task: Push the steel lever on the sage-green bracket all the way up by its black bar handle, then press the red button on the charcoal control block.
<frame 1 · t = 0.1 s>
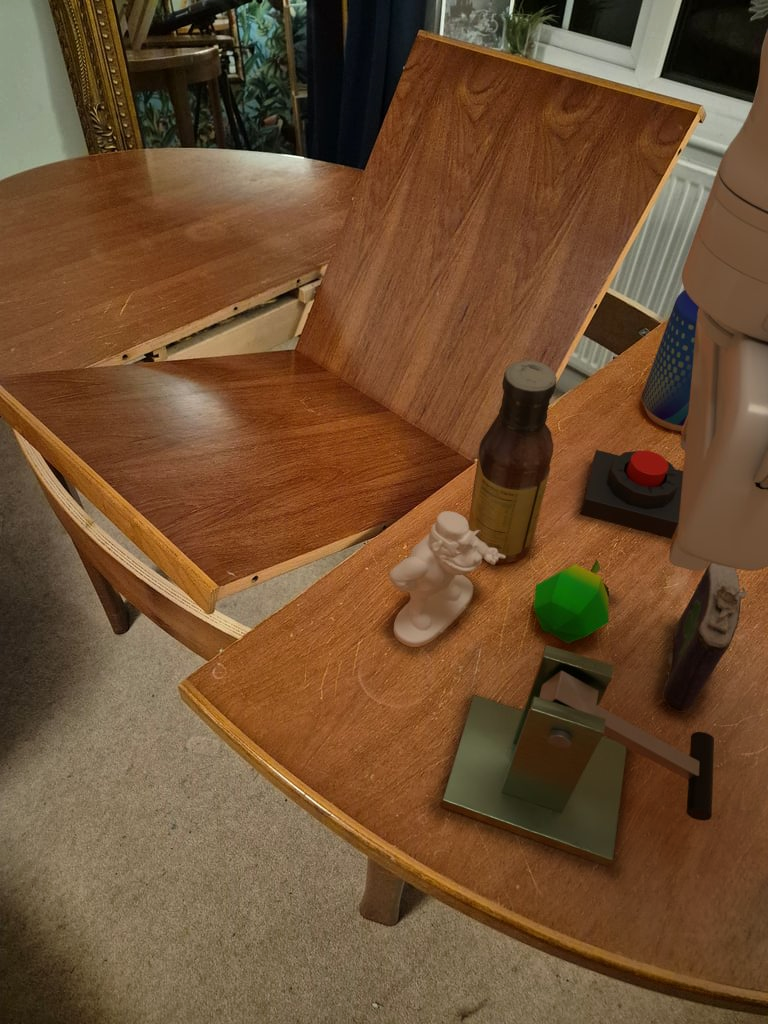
hand: (690, 497, 41), 25 cm above the table, tool pointing down, fingers open, 8 cm apart
beer can: (674, 414, 87), on the table
lever: (629, 735, 47), point 9 cm above the table, hinge at -20.0°
bracket: (534, 778, 55), on the table
control block: (634, 501, 76), on the table
sauce bottle: (496, 545, 72), on the table
button: (647, 468, 73), point 4 cm above the table, slide at 0.1 cm
apple: (568, 616, 66), on the table
figurine: (437, 614, 65), on the table
eggplant half: (682, 668, 63), on the table
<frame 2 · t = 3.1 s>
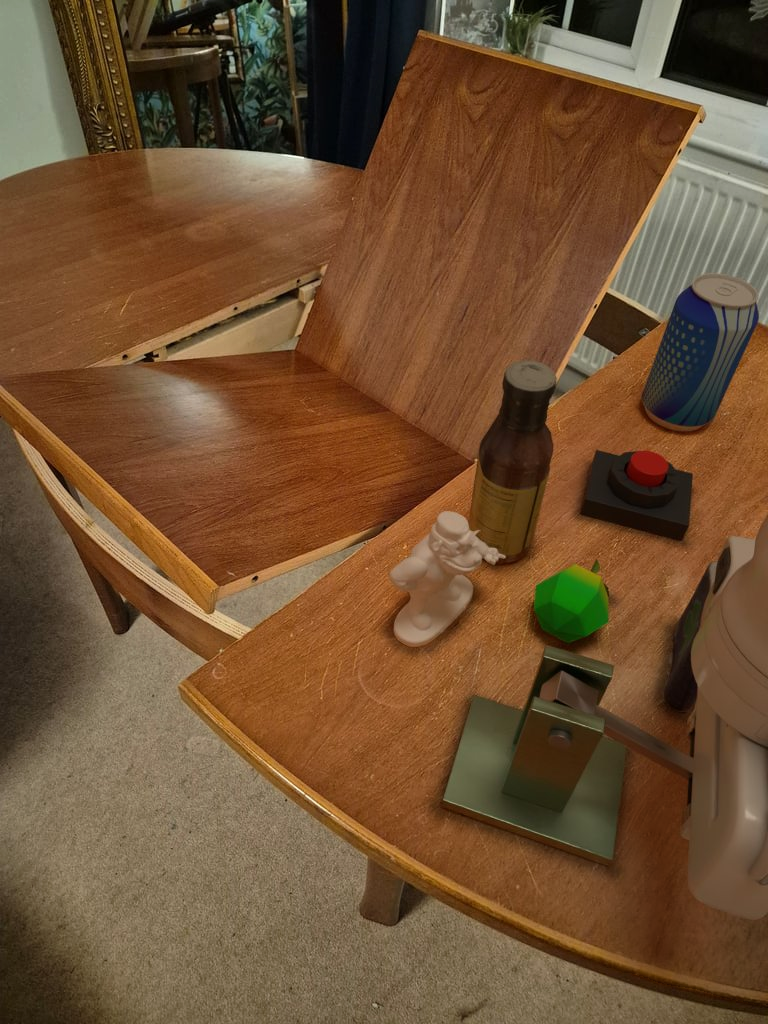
hand: (696, 780, 48), 7 cm above the table, tool pointing down, fingers closed on lever, 5 cm apart
lever: (629, 735, 47), point 9 cm above the table, hinge at -20.0°, touching gripper
everything else where it was.
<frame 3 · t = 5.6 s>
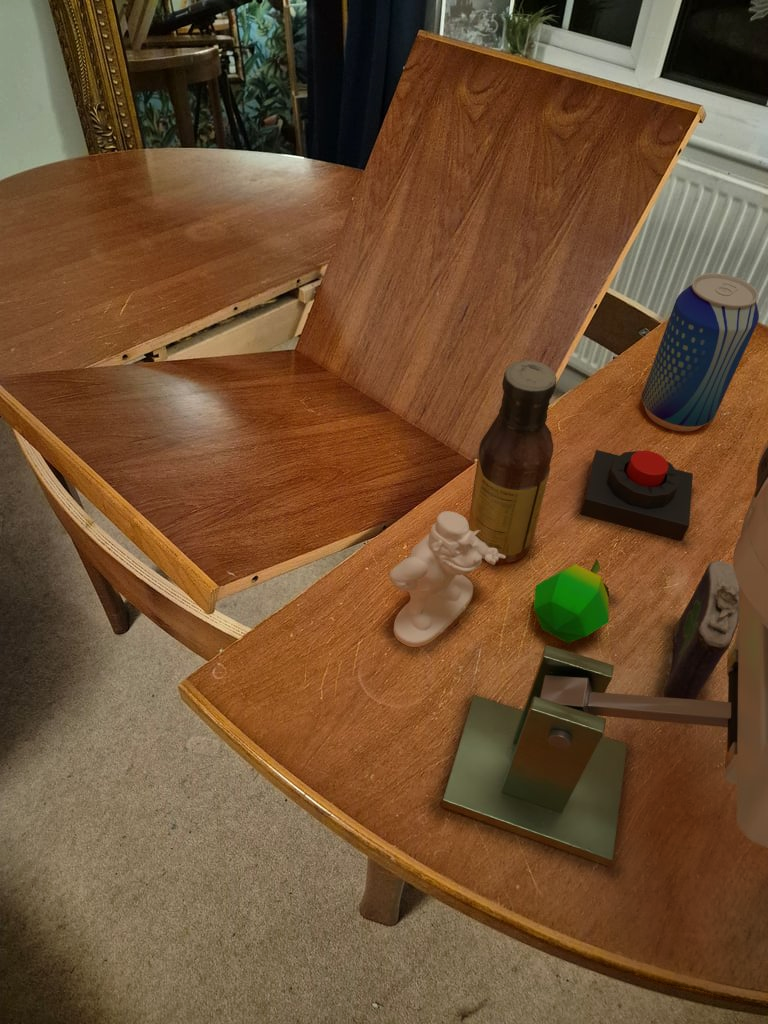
hand: (739, 719, 43), 15 cm above the table, tool pointing down, fingers closed on lever, 5 cm apart
lever: (644, 707, 45), point 13 cm above the table, hinge at 23.5°, touching gripper
everything else where it was.
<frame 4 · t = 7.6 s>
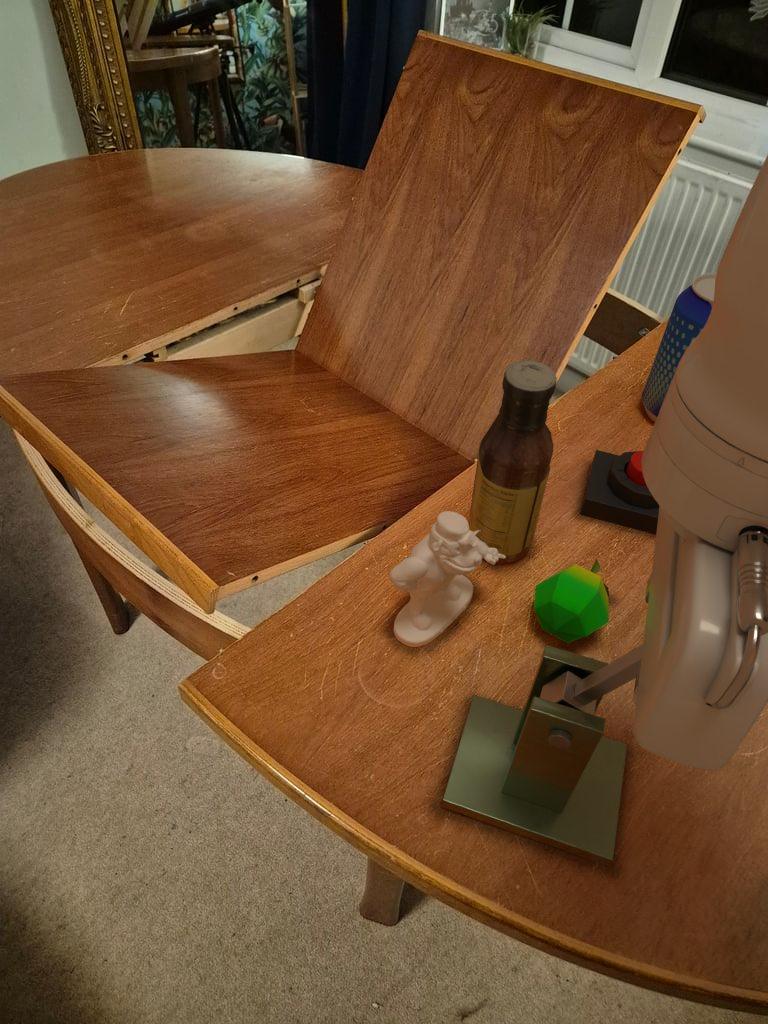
hand: (654, 644, 41), 19 cm above the table, tool pointing down, fingers closed on lever, 5 cm apart
lever: (615, 674, 44), point 15 cm above the table, hinge at 65.6°, touching gripper
everything else where it was.
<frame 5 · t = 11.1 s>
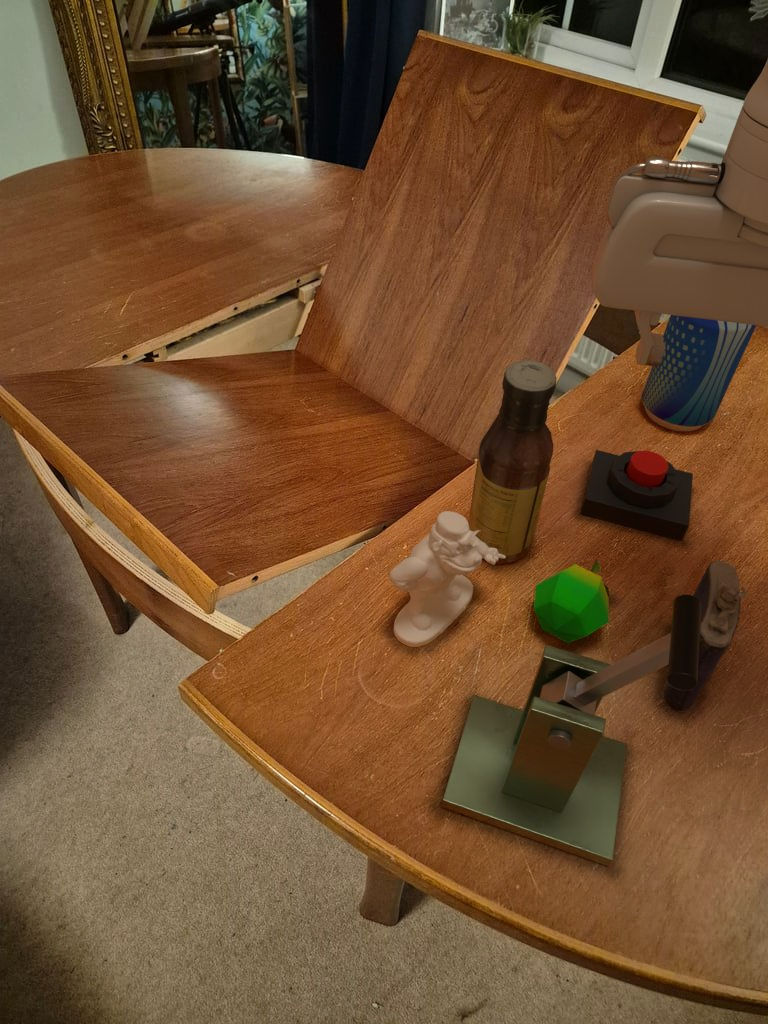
hand: (712, 369, 53), 23 cm above the table, tool pointing down, fingers open, 8 cm apart
lever: (617, 675, 44), point 15 cm above the table, hinge at 64.0°
everything else where it was.
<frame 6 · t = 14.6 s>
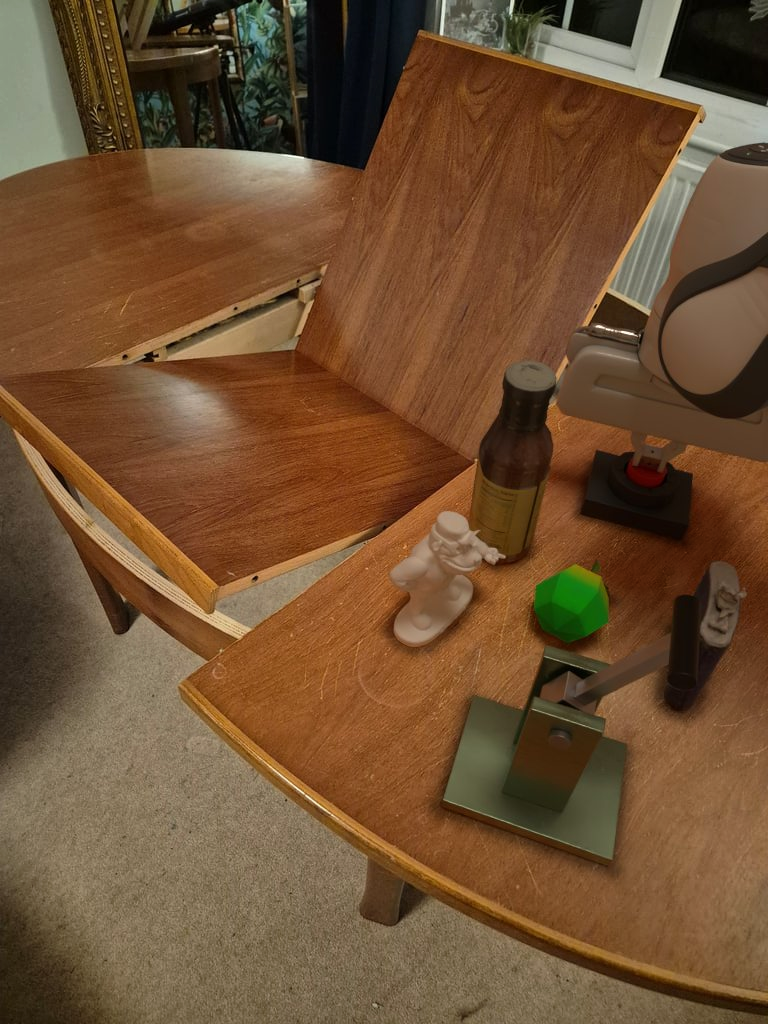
hand: (647, 465, 73), 5 cm above the table, tool pointing down, fingers closed, pressing on button
button: (645, 472, 74), point 4 cm above the table, slide at -0.4 cm, touching gripper
everything else where it was.
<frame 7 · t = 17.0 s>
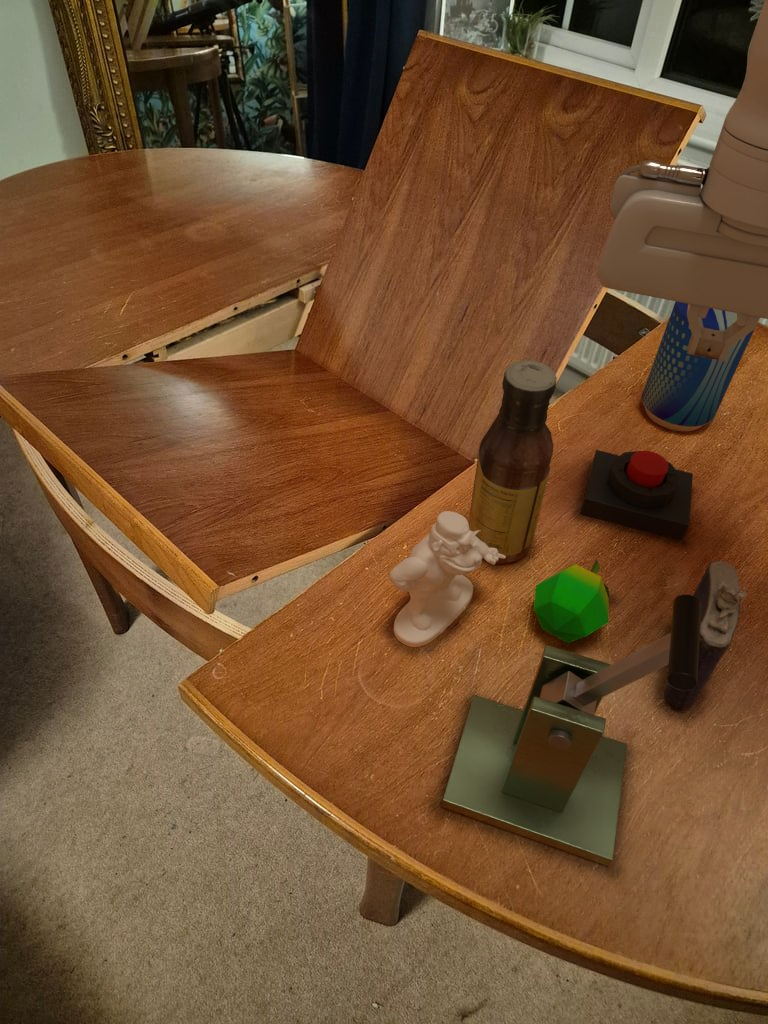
hand: (705, 354, 60), 20 cm above the table, tool pointing down, fingers closed
button: (647, 468, 73), point 4 cm above the table, slide at 0.1 cm
everything else where it was.
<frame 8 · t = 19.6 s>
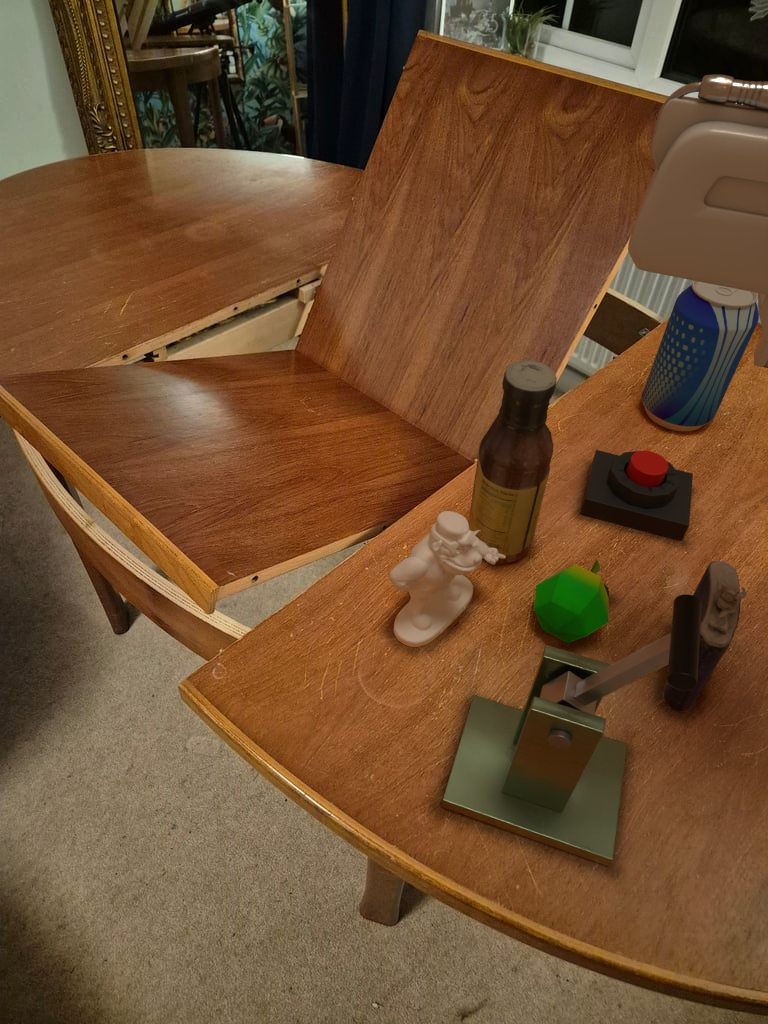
nothing on the table moved.
at the end: lever at +64° (first picture: -20°); button pushed in 1.1 cm at the most during the clip, back to where it started at the end; button slide at 0.1 cm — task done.
